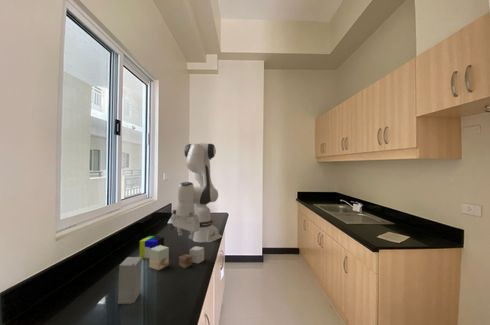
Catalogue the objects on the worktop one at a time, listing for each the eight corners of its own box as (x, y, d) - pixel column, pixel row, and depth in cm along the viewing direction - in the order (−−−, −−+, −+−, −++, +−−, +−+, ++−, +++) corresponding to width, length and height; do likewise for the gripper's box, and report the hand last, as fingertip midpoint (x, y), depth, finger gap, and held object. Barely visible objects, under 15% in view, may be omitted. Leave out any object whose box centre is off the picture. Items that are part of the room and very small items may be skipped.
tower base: (159, 262, 136) (159, 254, 136) (168, 265, 133) (168, 256, 133) (149, 267, 130) (149, 258, 130) (158, 270, 127) (158, 260, 127)
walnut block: (186, 262, 136) (186, 254, 136) (192, 265, 133) (192, 256, 133) (178, 265, 132) (179, 256, 132) (184, 268, 129) (184, 258, 129)
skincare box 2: (204, 260, 140) (204, 247, 140) (198, 263, 135) (198, 250, 135) (195, 258, 143) (195, 245, 143) (189, 262, 137) (189, 249, 137)
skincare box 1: (125, 293, 103) (125, 256, 103) (142, 293, 104) (142, 256, 104) (116, 305, 95) (117, 264, 95) (135, 304, 95) (135, 264, 96)
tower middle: (159, 254, 136) (160, 245, 136) (168, 256, 133) (168, 247, 133) (149, 258, 130) (149, 248, 130) (158, 260, 127) (158, 251, 127)
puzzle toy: (154, 259, 142) (154, 241, 142) (139, 257, 144) (139, 240, 144) (163, 253, 151) (163, 237, 151) (149, 251, 153) (149, 236, 153)
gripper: (202, 213, 129) (202, 239, 128) (179, 209, 142) (179, 232, 142) (193, 215, 124) (192, 242, 124) (170, 210, 137) (170, 234, 137)
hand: (185, 237), depth 133 cm, fingers open, 8 cm apart
